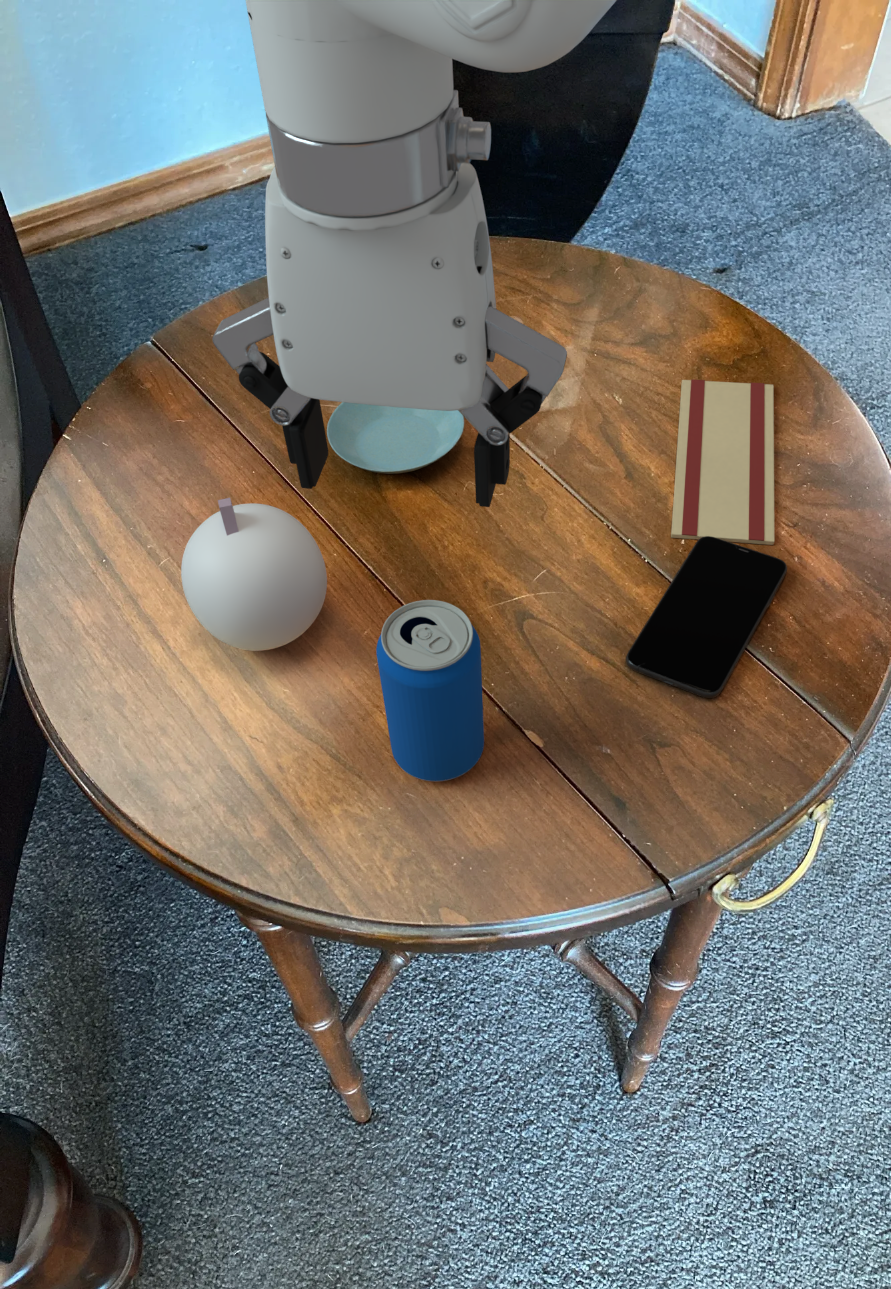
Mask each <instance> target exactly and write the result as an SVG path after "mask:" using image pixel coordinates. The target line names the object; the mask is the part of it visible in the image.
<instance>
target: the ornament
mask: <svg viewBox="0 0 891 1289" xmlns="http://www.w3.org/2000/svg"><path fill="white" fill-rule="evenodd" d="M217 503H218V508H219V511H217V512H215V513H213V514H211V515H210V516H209V517H207V518H206V519H205V520H204V521H203V522H202V523H201V524H199V526H197V528H196V529H195V530H194V532H193V533H192V534H191V536H190V538H189V539H188V541H187V543H186V545H185V548H184V551H183V555H182V558H181V567H180V576H181V578H180V579H181V585H182V589H183V590H182V591H183V594H184V596H185V599H186V602H187V604H188V606H189V608H190V610H191V611H192V614H193V615H194V616H195V618H196V620H197V621H198V622H199V623H200V625H201V626H202V627H203V628H204V629H205V631H207V632H208V633H209V634H211V635H212V637H214V638H215V639H217V640H219V642H222V643H223V644H225V645H227V646H229V647H232V648H235V649H239V650H244V651H250V652H260V651H269V650H273V649H277V648H280V647H283V646H285V645H288V644H290V643H291V642H293V641H295V640H296V639H298V638H299V637H301V636H302V635H303V634H304V633H305V632H306V631H307V630H308V629H309V628H310V627H311V626H312V624H313V623H314V622H315V621H316V619H317V618H318V616H319V614H320V613H321V610H322V608H323V606H324V602H325V600H326V595H327V590H328V575H327V574H328V573H327V567H326V563H325V559H324V557H323V554H322V551H321V549H320V547H319V545H318V544H317V543H318V542H317V541H316V540H315V538H314V536H313V535H312V534H311V533H310V531H309V530H308V528H306V527H305V525H303V523H301V521H299V520H298V519H297V518H295V516H294V515H291V514H290V513H289V512H286V511H285V510H283V509H281V508H278V507H276V506H273V505H269V504H264V503H254V502H253V503H252V502H251V503H250V502H249V503H241V504H240V503H239V504H235V505H233V503H232V500H231V497H226V498H222V499H217Z"/></svg>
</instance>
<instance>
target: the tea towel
mask: <svg viewBox="0 0 891 1289" xmlns="http://www.w3.org/2000/svg"><path fill="white" fill-rule="evenodd" d="M774 388H775V387H774V384H769V383H768V384H767V383H763V382H733V381H729V382H728V381H713V380H706V379H681V386H680V399H679V400H680V401H679V414H678V427H677V428H678V430H677V443H676V447H677V448H676V458H675V470H674V471H675V472H674V473H675V474H674V487H673V502H672V516H671V531H670V538H672V539H673V538H675V539H687V540H697V541H698V540H699V539H700V538H702V537H704V536H711V537H715V538H719V539H722V540H725V541H728V542H731V543H740V544H751V545H752V544H755V545H768V546H773V545H774V544H775V414H774V413H775V412H774V410H775V409H774V408H775V407H774V405H775V404H774V403H775V402H774V400H775V399H774V397H775V396H774V394H775V393H774Z"/></svg>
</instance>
